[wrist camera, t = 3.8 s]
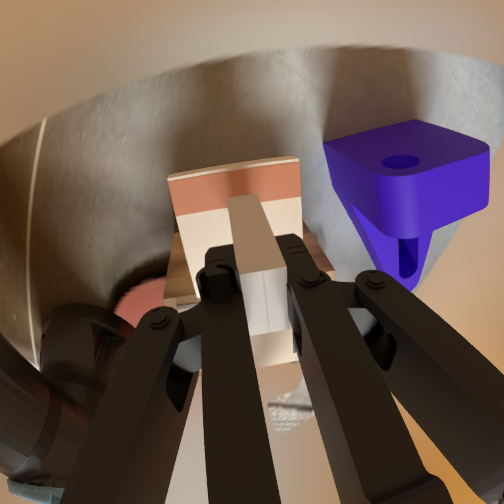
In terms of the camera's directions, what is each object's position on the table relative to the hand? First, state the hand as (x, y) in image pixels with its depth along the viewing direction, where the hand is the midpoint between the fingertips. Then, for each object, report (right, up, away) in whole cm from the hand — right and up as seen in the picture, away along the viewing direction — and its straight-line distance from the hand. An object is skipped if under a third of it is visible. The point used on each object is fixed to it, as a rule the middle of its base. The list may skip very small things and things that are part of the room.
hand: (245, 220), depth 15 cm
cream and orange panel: (0, 0, +3) cm, 3 cm away
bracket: (+15, +3, +15) cm, 21 cm away
